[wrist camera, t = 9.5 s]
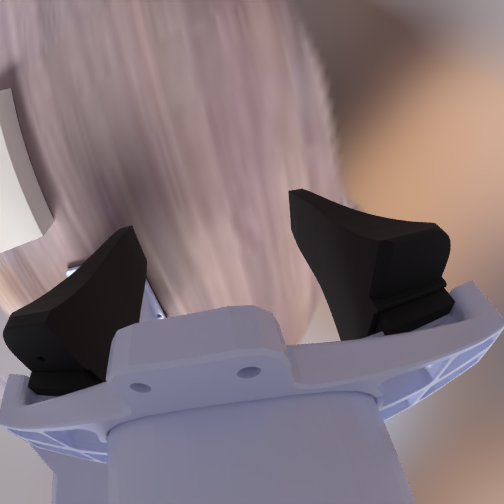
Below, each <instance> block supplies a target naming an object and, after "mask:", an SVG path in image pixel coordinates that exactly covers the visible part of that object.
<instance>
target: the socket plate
mask: <svg viewBox="0 0 504 504" xmlns="http://www.w3.org/2000/svg"><path fill="white" fill-rule="evenodd" d="M53 223H54V219H53V217H52V215H51V212H50V210H49V208H48V206H47V203H46V201H45V199H44V196H43V194H42V191H41V189H40V186H39V184H38V181H37V179H36V176H35V173H34V171H33V168H32V165H31V162H30V159H29V156H28V153H27V150H26V147H25V144H24V140H23V137H22V133H21V130H20V126H19V122H18V118H17V114H16V110H15V105H14V101H13V96H12V90H11V88H9V89H4V90H0V253H2V252H4V251H7V250H9V249H12V248H14V247H17V246H19V245H22V244H24V243H27V242H29V241H32V240H35V239H37V238H40V237H43V236H44V234H45V233H46V232H47V230H48V229H49V228H50V226H51V225H52V224H53Z"/></svg>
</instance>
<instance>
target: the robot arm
mask: <svg viewBox="0 0 504 504" xmlns="http://www.w3.org/2000/svg"><path fill="white" fill-rule="evenodd" d="M289 204H290V218H291V230H292V233H293V235H294V238H295V240H296V243H297V245H298V247H299V249H300V251H301V252H302V254H303V256H304V258H305V259H306V261H307V263H308V264H309V266H310V268H311V270H312V271H313V273H314V275H315V277H316V278H317V280H318V282H319V284H320V286H321V288H322V291H323V293H324V295H325V298H326V300H327V303H328V305H329V308H330V311H331V313H332V316H333V319H334V322H335V324H336V327H337V330H338V333H339V336H340V340H341V341H336V342H325V343H314V344H313V343H312V344H297V345H285V342H284V339H283V336H282V332H281V329H280V326H279V324H278V322H277V321H276V319H275V317H274V316H273V314H272V313H271V312H269V311H266V310H263V309H261V308H258V307H256V306H252V305H248V306H228V307H223V308H218V309H213V310H208V311H203V312H197V313H192V314H187V315H182V316H176V317H171V318H166V316H165V315H164V313H163V311H162V309H161V307H160V305H159V303H158V301H157V299H156V297H155V295H154V293H153V291H152V289H151V287H150V285H149V283H148V281H147V279H146V272H147V260H146V258H145V256H144V253H143V251H142V249H141V246H140V244H139V241H138V239H137V237H136V234H135V232H134V229H133V227H132V226H128V227H124V228H121V229H119V230H118V231H116V232H115V233H114V234H113V235H112V236H111V237H110V238H109V239H108V240H107V241H106V242H105V243H104V244H103V245H102V246H101V247H100V248H99V249H98V250H97V251H96V252H95V253H94V254H93V255H92V256H90V257H89V258H88V259H87V260H86V261H85V262H84V263H83V264H82V265H81V266H77V267H73V268H69V269H68V270H67V272H66V275H67V277H68V278H66V279H65V280H64V281H62V282H61V283H60V284H58V285H57V286H56V287H54V288H53V289H52V290H50V291H49V292H47V293H46V294H44V295H43V296H41V297H40V298H38V299H37V300H35V301H33V302H32V303H30V304H28V305H26V306H24V307H22V308H21V309H19V310H17V311H15V312H13V313H12V314H11V315H10V317H9V320H8V322H7V324H6V326H5V328H4V331H3V338H4V341H5V343H6V345H7V346H8V348H9V349H10V350H11V351H12V353H13V354H14V355H15V356H16V357H17V358H18V359H19V360H20V361H21V362H22V363H23V364H24V365H25V366H26V367H28V369H30V370H31V371H32V373H31V376H30V378H29V377H28V376H25V375H17V374H16V375H15V374H10V375H9V377H8V380H7V384H6V387H5V391H4V395H3V399H2V403H1V408H0V425H1V426H2V427H4V428H5V429H7V430H8V431H10V432H11V433H13V434H15V435H16V436H18V437H20V438H21V439H23V440H25V441H27V442H28V443H29V444H30V445H31V447H32V448H33V449H34V450H35V452H36V453H37V454H38V455H39V456H40V457H41V459H42V460H43V461H44V462H45V463H46V464H47V465H48V466H49V468H50V469H51V470H52V471H53V484H52V504H415V501H414V498H413V495H412V493H411V490H410V487H409V485H408V482H407V479H406V476H405V474H404V471H403V468H402V466H401V463H400V461H399V458H398V455H397V453H396V450H395V448H394V446H393V443H392V441H391V438H390V436H389V433H388V431H387V428H386V426H385V424H384V421H386V420H388V419H390V418H391V417H393V416H395V415H397V414H399V413H401V412H402V411H404V410H406V409H408V408H410V407H411V406H413V405H415V404H416V403H418V402H420V401H421V400H423V399H424V398H426V397H428V396H429V395H431V394H432V393H434V392H435V391H437V390H438V389H440V388H442V387H443V386H445V385H446V384H447V383H449V382H450V381H452V380H453V379H455V378H456V377H458V376H459V375H461V374H462V373H463V372H465V371H466V370H468V369H469V368H471V367H472V366H473V365H475V364H476V363H477V362H478V361H479V360H480V359H481V358H482V357H483V355H484V354H485V353H486V352H487V350H488V349H489V348H490V347H491V345H492V344H493V343H494V341H495V340H496V338H497V337H498V336H499V335H500V333H501V332H502V330H503V329H504V319H503V317H502V316H501V315H500V314H499V312H498V311H497V310H496V308H495V307H494V306H493V304H492V303H491V302H490V301H489V300H488V298H487V297H486V296H485V295H484V294H483V292H482V291H481V290H480V289H479V288H478V287H477V286H476V284H475V283H474V282H473V281H468V282H467V283H464V284H462V285H460V286H458V287H456V288H454V289H453V290H452V291H451V292H450V293H448V292H447V291H446V290H445V288H444V287H446V285H447V284H446V281H445V280H444V279H443V278H442V274H443V272H444V269H445V266H446V263H447V261H448V258H449V254H450V239H449V236H448V235H447V234H446V233H445V232H444V231H443V230H442V229H441V228H440V227H439V226H438V225H436V224H435V223H427V222H410V221H403V220H395V219H389V218H384V217H380V216H375V215H371V214H367V213H364V212H360V211H357V210H354V209H351V208H348V207H346V206H343V205H340V204H338V203H335V202H333V201H330V200H328V199H326V198H324V197H321V196H319V195H317V194H314V193H312V192H310V191H307V190H304V189H297V190H292V191H289ZM158 314H160V315H158Z"/></svg>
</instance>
